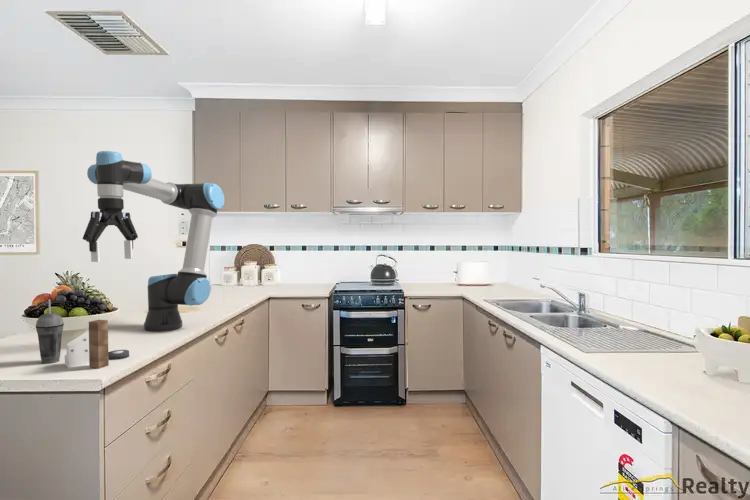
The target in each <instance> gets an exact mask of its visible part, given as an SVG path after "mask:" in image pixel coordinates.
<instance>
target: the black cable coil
mask: <svg viewBox="0 0 750 500" xmlns="http://www.w3.org/2000/svg"><path fill="white" fill-rule="evenodd" d="M129 357H130V351H129V350H128V349H116V350H111V351H110V350H109V351H108V359H109V360H110V361H113V360H114V361H115V360H116V361H117V360H118V361H119V360H123V359H127V358H129Z"/></svg>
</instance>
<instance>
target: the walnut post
mask: <svg viewBox="0 0 750 500" xmlns="http://www.w3.org/2000/svg"><path fill="white" fill-rule="evenodd" d="M88 331H89V366H88V368H89V369H90V368H91V369H97V368H98V369H102V368H104V367H107V366H110V365H109V360H108V352H109V319H94V320H92V321H88ZM98 369H97V370H98Z"/></svg>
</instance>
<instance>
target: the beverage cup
mask: <svg viewBox="0 0 750 500" xmlns="http://www.w3.org/2000/svg"><path fill="white" fill-rule="evenodd" d="M47 301H48V303H47V304H48V312H46V313H43V314H42V315H40V317H39V318H37V320H36V324H35V330H36V333H37V338H38V346H39V347H38V348H39V355H40V356H39V357H40V361H41V364H43V365H49V364H54V363H55V364H56V363H58V362H60V357H61V348H62V337H63V330H64V326H65V323H64V319H63V318H62V316H61V315H60V314H58V313H56V312H51V311H52V310H51V309H52V308H51V307H52V306H51V299H50V298H49V299H47Z"/></svg>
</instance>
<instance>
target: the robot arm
mask: <svg viewBox="0 0 750 500" xmlns="http://www.w3.org/2000/svg"><path fill="white" fill-rule="evenodd" d="M95 157H96V160H95V161H96V162H95V163H94V164H91V165H90V166H89V167H88V169H87V171H86V172H87V174H86V175H87V178H88V180H89V181H90V183H93V184H94V185H96V186H97V187H96V189H97V196H98V199H97V209H99V211H90V217H89V221H88V224H87V226H86V229H85V231H84V233H83V236H82V240H84V241H86V242H87V243H88V244H89V245H88V247H89V249H88V251H89V252H90V258H91V259H90V262H92V263H100V262H101V257H100V256H101V255H100V253H101V252H100V251H101V249H100V241H98V240H99V239H100V237H101V235H102V234H103V232H105V230H106V228H107V227H108V226H114V227H117V229H118V231H119V232H120V233H121V234H122V236H123V237H124V239H125V240H123V247H124V248H123V249H124V259H125V260H128V259H129V260H131V259H133V257H134V255H133V249H134V241H136V239H138V237H139V236H138V233H137V231H136V228H135V226H134V224H133V221H132V218H131V214H130V212H123V210H124V207H125V206H124V205H125V204H124V199H123V197H124V190H125V191H129V192H131V193H134V194H139V195H142V196H146V197H149V198H153V199H156V200H160V201H161V202H162V204H165V205H169V206H172V207H175V208H180V209H183V210H188V212H189V213H190V215H191V217H190V223H189V228H188V235H187V241H186V247H185V252H184V258H183V263H182V268H181V269H179V271H177V273H169V274H162V275H154V276H150V277H149V278H148V281H147V305H148V307H147V313H146V315H145V316H146V317H145V321H144V323H143V330H145V331H147V332H148V331H150V332H163V331H172V330H177V329H181V328H182V327H183V320H182V317H181V314H180V311H179V305H182V306H190V307H191V306H200V305H203V304H204V303H205V302H206V301H208V299H209V297H210V294H211V292H212V291H211V289H212V286H211V285H212V284H211V281H210V280H209V279H207V278H208V277H207V276H208V275H207V273H206V272H205V266H206V261H207V255H208V247H209V240H210V236H211V228H212V223H213V219H214V218H215V217H217V214H218V211H220V210H221V209H223V207H224V205H225V195H224V192H223V190H222V189H221V186H219V185H218V184H216V183H211V182H210V183H209V182H203V183H182V184H181V183H180V184H179V183H174V182H163V181H160V180H157V179H154V178H152V176H153V175H152V173H153V171H152V169H151V167H149V165H148V164H146V163H141V162H135V161H130V160H129V161H128V160H124V159H123V155H122V153H120V152H118V151H112V150H111V151H110V150H103V151H98V152H97V153H96V156H95Z"/></svg>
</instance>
